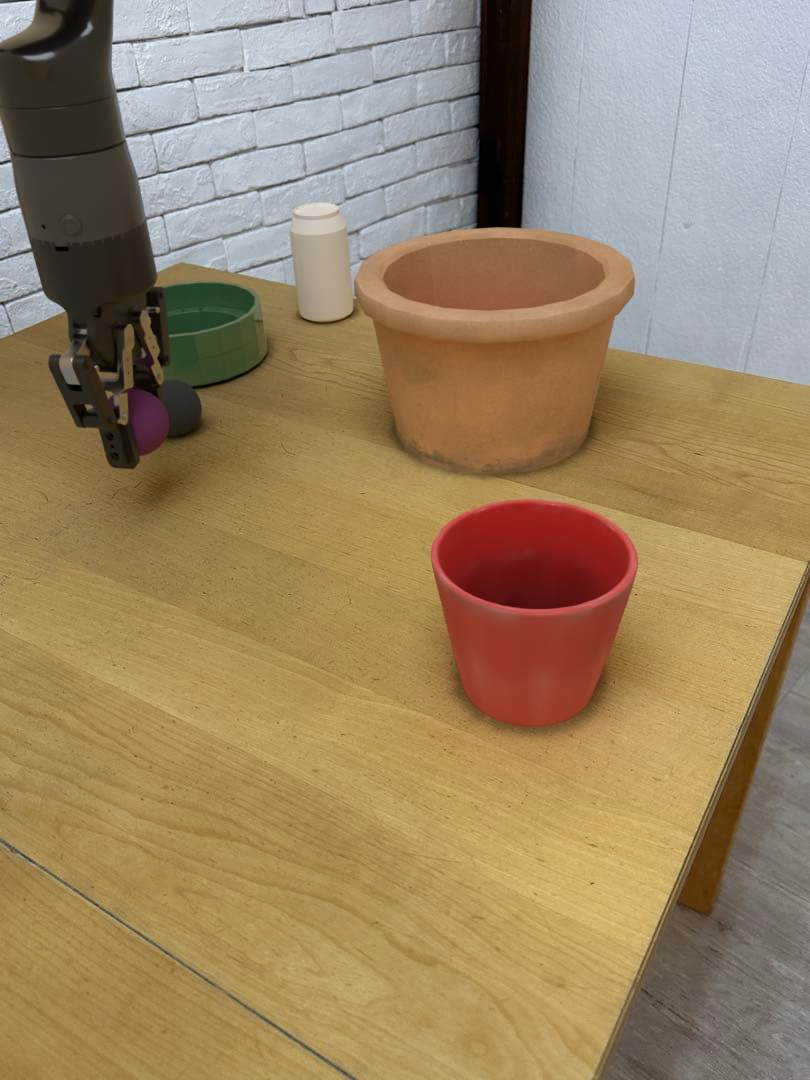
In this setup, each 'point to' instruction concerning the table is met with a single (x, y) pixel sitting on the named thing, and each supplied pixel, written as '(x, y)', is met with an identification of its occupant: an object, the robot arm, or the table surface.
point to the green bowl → (213, 331)
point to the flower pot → (532, 604)
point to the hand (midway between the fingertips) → (140, 446)
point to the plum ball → (146, 420)
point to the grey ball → (181, 407)
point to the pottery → (493, 342)
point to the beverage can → (321, 262)
